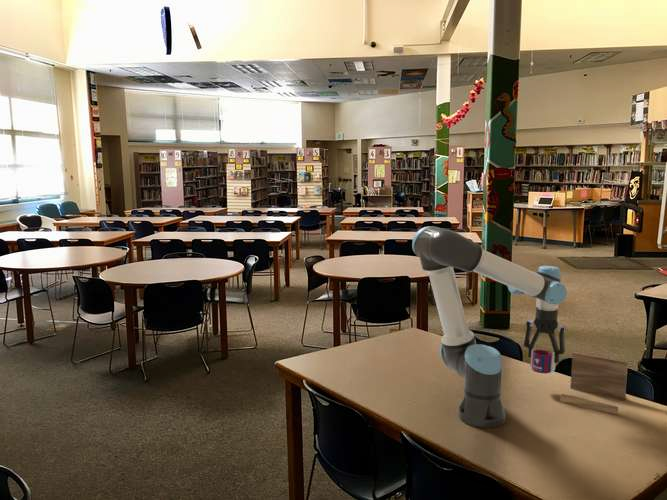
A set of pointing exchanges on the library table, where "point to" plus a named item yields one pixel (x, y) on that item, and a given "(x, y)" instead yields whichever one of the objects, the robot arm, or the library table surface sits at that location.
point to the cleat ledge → (589, 404)
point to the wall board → (599, 375)
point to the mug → (541, 361)
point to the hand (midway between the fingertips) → (542, 368)
